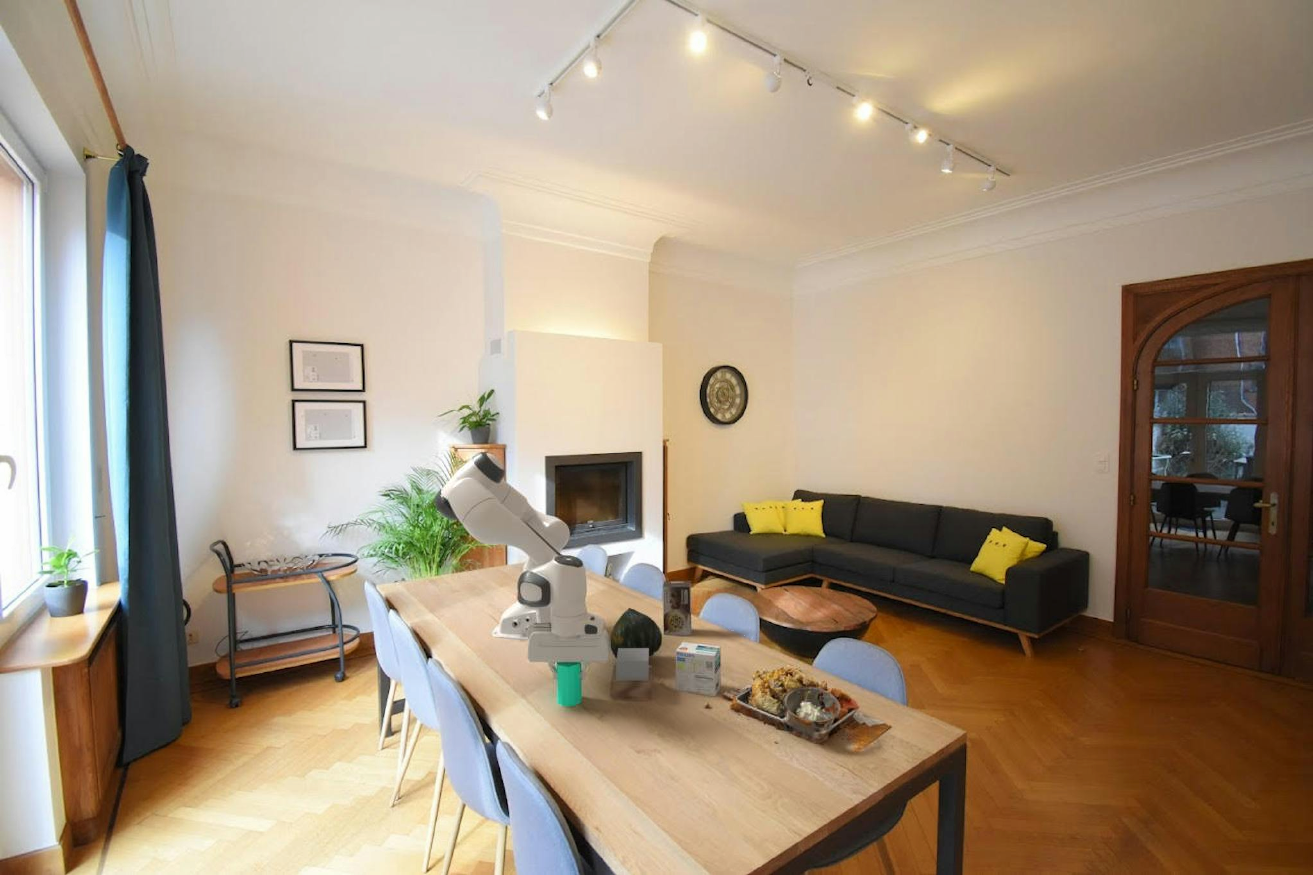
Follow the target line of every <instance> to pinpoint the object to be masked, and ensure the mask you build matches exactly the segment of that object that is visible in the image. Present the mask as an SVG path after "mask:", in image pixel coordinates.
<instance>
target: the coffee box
mask: <svg viewBox="0 0 1313 875" xmlns="http://www.w3.org/2000/svg"><path fill="white" fill-rule="evenodd" d="M691 582H692V581H688V580H685V581H684V580H680V581H679V580H665V581H664V582H663V584H662V608H663V609H662V611H663V612H662V617H663V620H662V622H663V625H662V626H663V628H662V630H663V634H664V636H691V635H692V632H693V631H692V593H691V592H692V584H691ZM663 634H662V635H663Z"/></svg>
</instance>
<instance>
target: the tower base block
mask: <svg viewBox="0 0 1313 875" xmlns="http://www.w3.org/2000/svg"><path fill="white" fill-rule="evenodd" d="M609 684H610V700H640V701H641V700H643V701H646V700H652V691H653V690H652V689H653V688H652V686H653V665H649V680H648V681H616V665H613V670H612V674H611V678H610V683H609Z"/></svg>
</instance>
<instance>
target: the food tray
mask: <svg viewBox="0 0 1313 875" xmlns="http://www.w3.org/2000/svg"><path fill="white" fill-rule="evenodd" d="M752 679H753V682H752V683H751V684H747V685H746V686H744V687H743V688H738V689H737V691H738V692H736V691H733V690H732V689H731V690H730V691H728V690H726V691H724V693H723V696H722V700H724V701H727V702H731V704H730V705H729V710H731V711H739V713H738V714H737V716H741V714H742V715H743V716H745V717H749V718H752V719H755V720H757V721H759V722H762V723H763V725H768V726H771V727H775V729H776V730H777V731H783V732H788V734H791V735H793V736H794V737H796V738H799V739H802V740H804V741H808V742H809V743H814V744H821V745H822V746H823V745H825V743H827V742H828V741H829V740H830V739H832V738H836V737H837V736H838V737H837V738H840V737H839V736H840V735H841V734H842V733H844V734H843V735H846V736H847V737H846V740H847V742H848V743H849V742H851V741H852V744H853V746H854V747H853V750H851V751H850V752H848V754H850V755H852V757H853V756H855V755H856V754H857V753H859V752H860V751H861V750H863V749H864V748H865V747H866V746H868V745H869V744H871V743H872V742H873V741H874V740H876V739H877V738H878V737H879V736H881V735H882V734H883V733H884V732H886V731H887V730H888V729H890V728H891V727H892V725H889V724H887V723H886V722H882V721H880V720H878V719H877V718H871V717H867V716H865V715H864V712H858V710H859V709H860V707H861V706H859V705H858V702H857V700H855V699H854V698H853V697H851V696H850V695H849V694H848V693H847V692H845V691H843V690H842V689H839V687H837V686H834V687H830V688H828V682H827V680H822V681H817V680H815V679H813V677H811V676H809V675H808V674H807V673H806V672H804V671H803V670H802V669H799V668H798V667H797V666H794V665H793V666H791V664H787V665H786V666H785V668H784V666H782V667H780V668H775V669H771V670H768V669H767V668H765V669H761V668H757V669H755V670H754V673H753V675H752ZM704 705H705V707H704V709H706V708H708V707H709V706H710V703H709V702H708V701H706V702H704ZM746 720H748V721H749V719H746ZM846 732H847V733H846ZM845 733H846V734H845ZM841 740H842V741H844V738H842V739H841ZM775 744H779V742H777V741H775ZM785 745H786V743H785ZM855 746H856V747H855ZM849 758H851V756H849Z"/></svg>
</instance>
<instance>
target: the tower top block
mask: <svg viewBox="0 0 1313 875" xmlns="http://www.w3.org/2000/svg"><path fill="white" fill-rule="evenodd" d="M649 660H650V657H649V648H618V653H617V659H616V660H615V662H616V663H615V664H616V681H648V680H649V666H650V664H649V663H650V661H649Z"/></svg>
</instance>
